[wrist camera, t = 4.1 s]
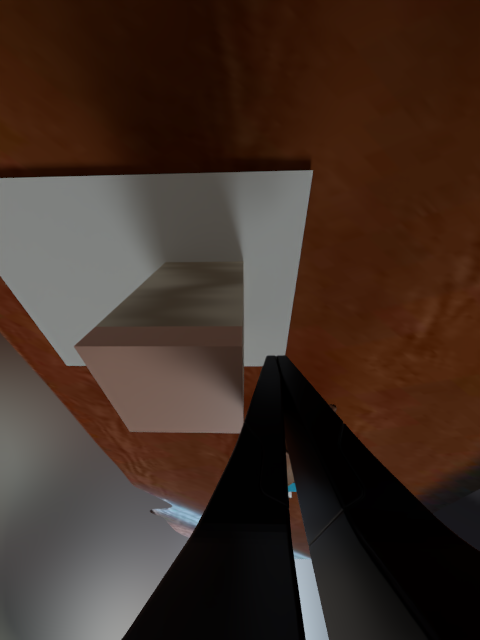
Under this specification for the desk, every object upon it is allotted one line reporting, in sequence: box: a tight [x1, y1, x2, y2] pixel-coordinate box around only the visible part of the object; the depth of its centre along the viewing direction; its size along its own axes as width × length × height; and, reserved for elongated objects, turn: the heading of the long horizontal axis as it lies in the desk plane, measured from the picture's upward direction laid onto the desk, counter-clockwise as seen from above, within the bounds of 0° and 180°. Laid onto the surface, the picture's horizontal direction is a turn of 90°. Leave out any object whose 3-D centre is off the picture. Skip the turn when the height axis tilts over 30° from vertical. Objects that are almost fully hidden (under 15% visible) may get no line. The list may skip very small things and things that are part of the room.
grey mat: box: [0, 170, 313, 366], centre depth 14 cm, size 20×14×1 cm
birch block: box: [74, 261, 244, 433], centre depth 10 cm, size 5×5×8 cm
